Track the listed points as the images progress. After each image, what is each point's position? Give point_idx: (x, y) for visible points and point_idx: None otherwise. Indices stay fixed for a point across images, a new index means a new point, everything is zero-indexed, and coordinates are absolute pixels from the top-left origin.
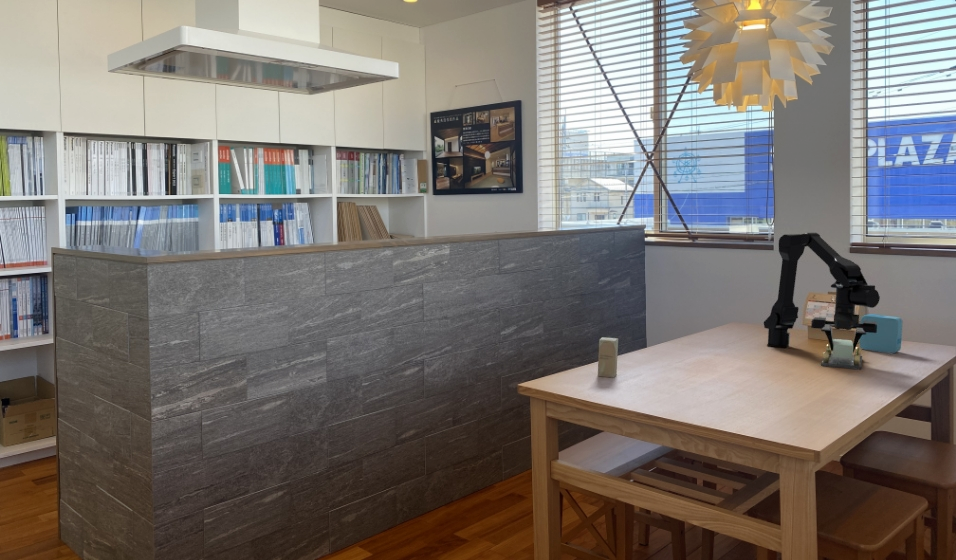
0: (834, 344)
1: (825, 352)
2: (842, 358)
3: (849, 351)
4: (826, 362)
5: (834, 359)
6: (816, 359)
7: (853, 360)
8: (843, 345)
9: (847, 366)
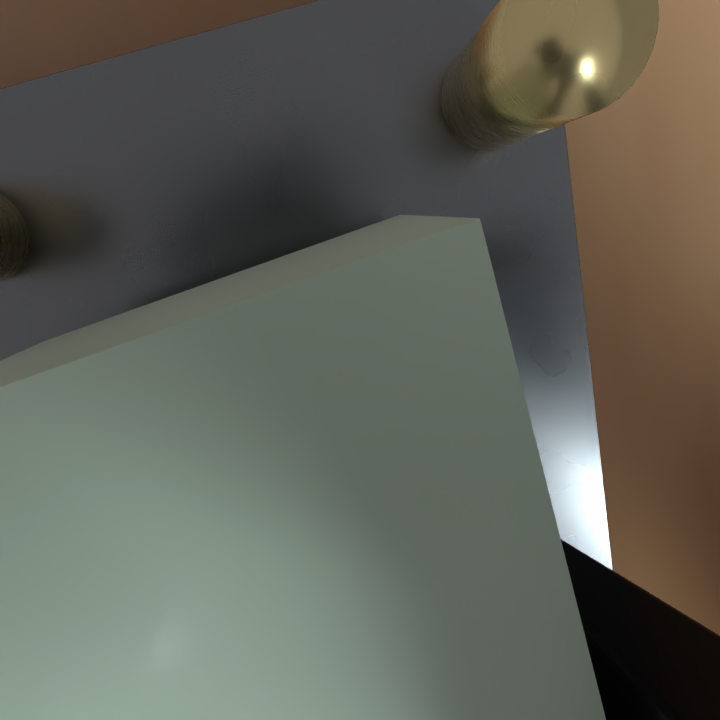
0: (467, 268)
1: (600, 5)
2: None
3: (13, 365)
4: (464, 40)
5: None
6: (666, 428)
7: None
8: (86, 362)
9: (81, 73)
